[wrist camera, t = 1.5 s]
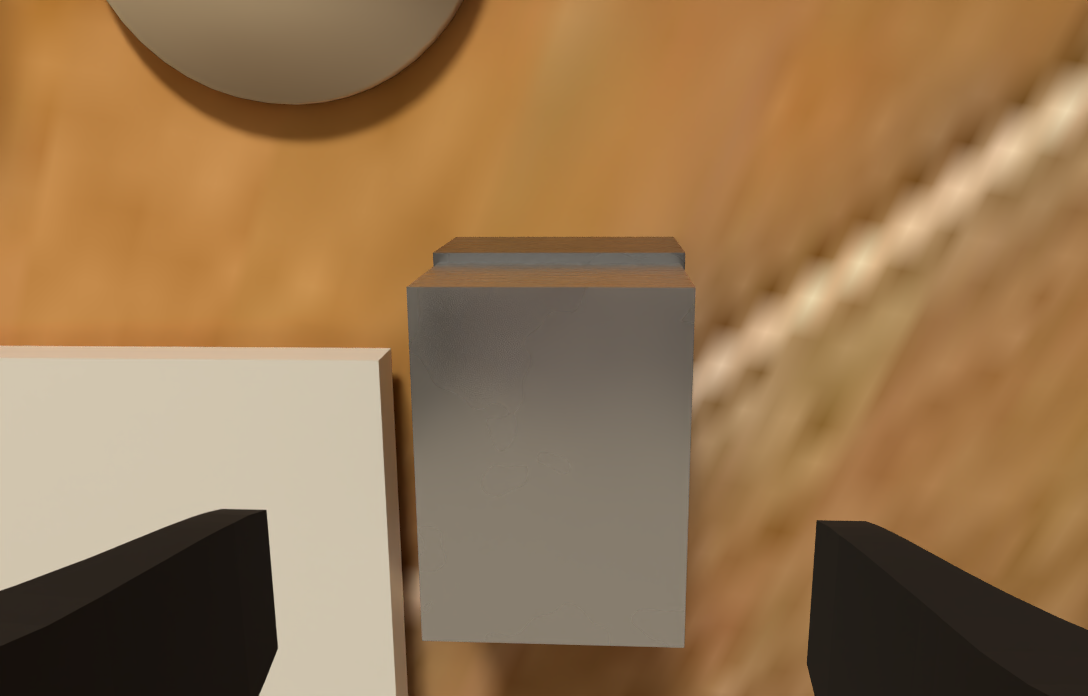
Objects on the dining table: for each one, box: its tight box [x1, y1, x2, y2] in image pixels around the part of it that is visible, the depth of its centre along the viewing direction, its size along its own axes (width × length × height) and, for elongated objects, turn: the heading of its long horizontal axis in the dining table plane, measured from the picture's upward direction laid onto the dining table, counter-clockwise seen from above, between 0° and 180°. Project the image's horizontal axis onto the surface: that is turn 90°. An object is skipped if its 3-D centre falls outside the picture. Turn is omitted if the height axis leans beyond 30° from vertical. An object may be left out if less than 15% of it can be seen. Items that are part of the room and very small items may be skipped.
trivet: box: [0, 346, 408, 696], centre depth 22 cm, size 12×12×2 cm
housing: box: [407, 237, 695, 648], centre depth 18 cm, size 7×5×6 cm
